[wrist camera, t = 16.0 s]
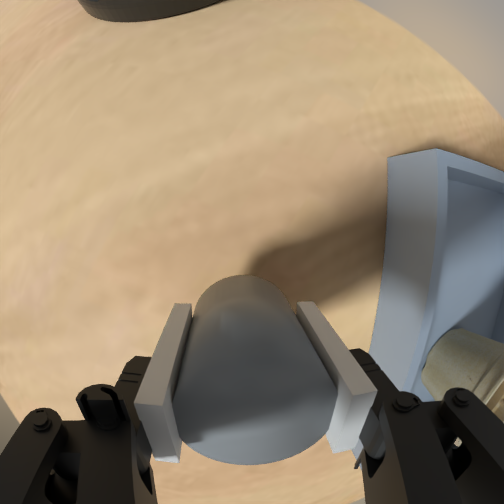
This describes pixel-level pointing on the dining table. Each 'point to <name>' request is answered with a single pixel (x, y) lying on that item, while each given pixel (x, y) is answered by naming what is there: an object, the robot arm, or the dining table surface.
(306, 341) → the canister
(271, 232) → the dining table surface
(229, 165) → the dining table surface
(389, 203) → the tote
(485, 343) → the flower pot
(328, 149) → the dining table surface
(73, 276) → the dining table surface
